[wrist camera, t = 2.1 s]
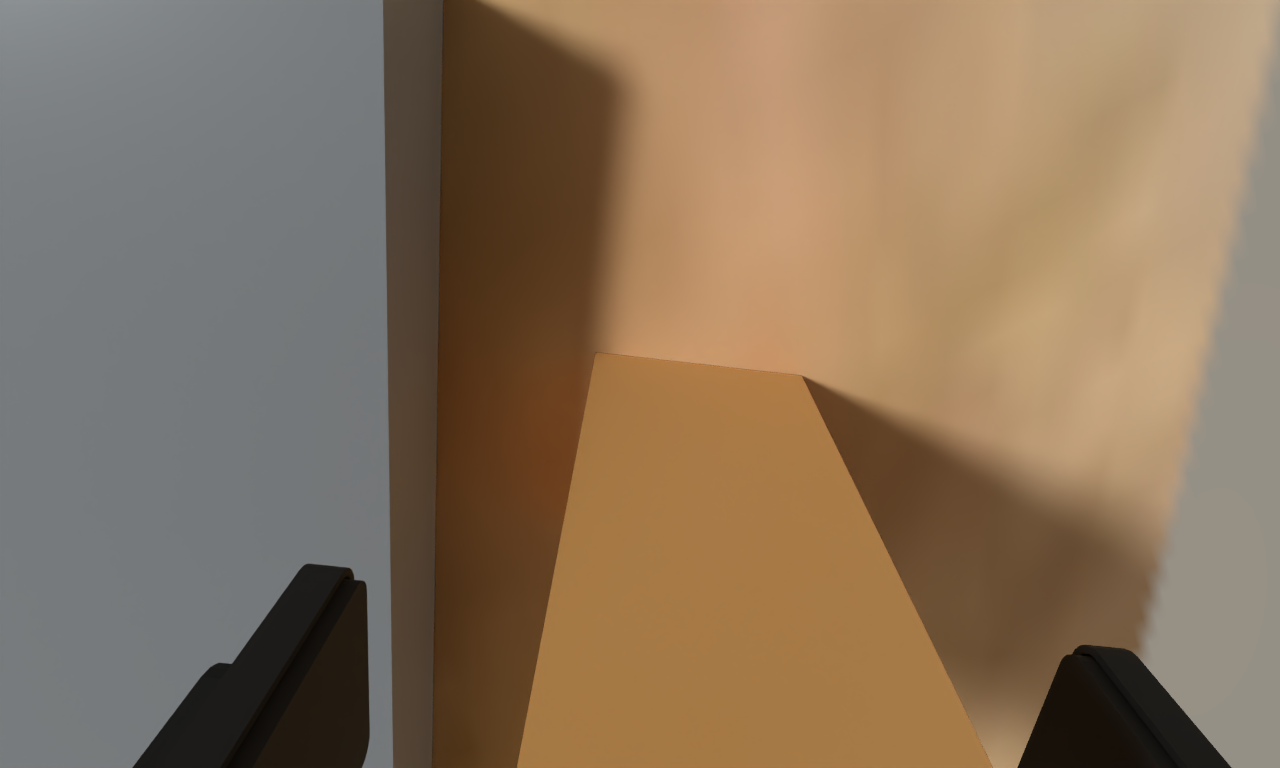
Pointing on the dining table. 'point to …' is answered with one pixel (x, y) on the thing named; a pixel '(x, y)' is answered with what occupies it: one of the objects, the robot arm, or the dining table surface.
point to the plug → (728, 593)
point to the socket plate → (212, 352)
